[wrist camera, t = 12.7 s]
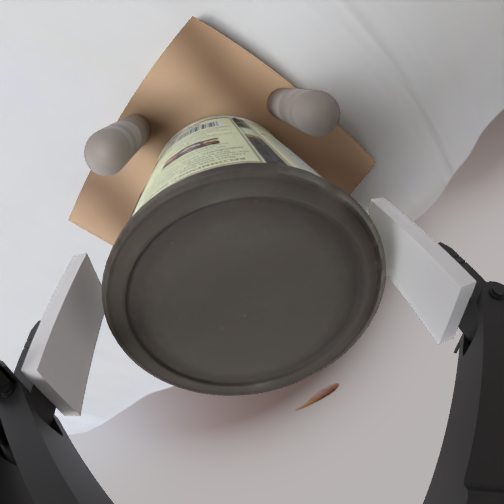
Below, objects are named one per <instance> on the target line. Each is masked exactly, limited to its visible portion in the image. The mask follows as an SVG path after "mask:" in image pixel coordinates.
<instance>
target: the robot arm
mask: <svg viewBox="0 0 504 504" xmlns="http://www.w3.org/2000/svg"><path fill="white" fill-rule="evenodd" d="M369 217H370V219H371V220H372V222H373V224H374V225H375V227H376V229H377V231H378V233H379V235H380V238H381V241H382V244H383V247H384V252H385V258H386V274H387V275H388V277H389V278H390V279H391V281H392V282H393V283H394V284H395V286H396V287H397V288H398V289H399V291H400V292H401V294H402V295H403V296H404V298H405V299H406V300H407V302H408V303H409V304H410V305H411V307H412V308H413V310H414V311H415V312H416V314H417V315H418V316H419V318H420V319H421V321H422V322H423V323H424V325H425V326H426V328H427V329H428V330H429V332H430V333H431V334H432V336H433V338H434V339H435V340H436V342H437V343H438V345H439V344H442V343H444V342H446V341H449V340H451V339H453V338H454V336H455V334H456V331H457V329H458V327H459V328H460V330H461V331H462V332H463V334H462V336H461V338H460V340H459V343H458V344H457V347H456V348H455V351H454V353H457V351H458V349H459V348H460V349H459V358H458V367H457V374H456V381H455V387H454V394H453V399H452V404H451V409H450V414H449V419H448V424H447V428H446V432H445V436H444V440H443V444H442V448H441V451H440V455H439V459H438V462H437V465H436V468H435V472H434V475H433V478H432V481H431V484H430V486H429V490H428V492H427V495H426V497H425V500H424V502H423V504H504V285H502V284H500V283H498V282H492V281H490V282H486V281H484V279H483V278H482V277H481V276H480V275H479V274H478V273H477V272H476V271H475V270H474V269H473V268H472V267H471V266H470V265H469V264H468V263H465V260H463V259H462V258H461V257H459V255H458V254H457V253H456V252H455V251H454V250H453V249H452V248H450V247H448V246H447V245H445V244H443V243H437V242H436V241H434V240H433V239H432V238H431V237H430V236H429V235H428V234H427V233H426V232H424V231H423V230H422V229H421V228H420V227H419V226H418V225H416V224H415V223H414V222H413V221H412V220H411V219H410V218H408V217H407V216H406V215H405V214H404V213H402V212H401V211H400V210H399V209H398V208H396V207H395V206H394V205H393V204H392V203H390V202H389V201H388V200H387V199H385V198H384V197H381V198H375V199H370V207H369ZM101 287H102V285H101V283H100V281H99V279H98V277H97V275H96V272H95V270H94V268H93V266H92V264H91V261H90V259H89V257H88V255H87V253H85V254H80V255H76V256H73V258H72V260H71V261H70V263H69V265H68V267H67V269H66V271H65V273H64V274H63V276H62V278H61V280H60V282H59V284H58V286H57V288H56V290H55V292H54V294H53V296H52V298H51V300H50V302H49V304H48V307H47V309H46V311H45V313H44V315H43V317H42V320H41V321H38V322H37V324H36V325H35V326H34V327H33V329H32V330H31V332H30V334H29V336H28V339H27V342H26V344H25V346H24V349H23V351H22V353H21V356H20V358H19V361H18V363H17V366H16V369H15V371H14V374H13V372H12V371H11V370H10V369H9V368H8V367H7V366H6V364H5V363H4V362H3V361H0V504H114V503H113V502H112V501H111V499H110V498H109V497H108V496H107V494H106V493H105V491H104V490H103V489H102V488H101V486H100V485H99V483H98V482H97V481H96V479H95V478H94V476H93V475H92V473H91V472H90V470H89V469H88V467H87V466H86V464H85V463H84V461H83V460H82V458H81V457H80V455H79V454H78V452H77V450H76V449H75V447H74V445H73V444H72V442H71V440H70V439H69V437H68V435H67V433H66V432H65V430H64V428H63V426H62V425H61V423H60V421H59V419H58V418H57V417H56V416H55V415H54V413H55V409H56V408H57V409H58V410H59V411H60V412H61V413H62V414H63V415H64V416H81V410H82V404H83V399H84V394H85V389H86V384H87V379H88V375H89V370H90V366H91V362H92V357H93V353H94V349H95V345H96V341H97V338H98V334H99V330H100V326H101V323H102V319H103V316H104V310H103V304H102V289H101Z"/></svg>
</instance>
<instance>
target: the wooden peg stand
mask: <svg viewBox="0 0 504 504" xmlns="http://www.w3.org/2000/svg"><path fill="white" fill-rule="evenodd" d="M221 115H227V116H237V117H241V118H245V119H248V120H250V121H253V122H255V123H257V124H259V125H260V126H262V127H263V128H265V129H267V130H268V131H269V132H270V133H271V134H272V135H273V136H274V137H275V138H276V139H277V140H278V141H279V142H281V143H282V144H283V145H284V146H286V147H287V148H288V149H290V150H291V151H292V152H293V153H294V154H296V155H297V156H298V157H299V158H300V159H302V160H303V161H304V162H305V163H306V164H307V165H309V166H310V167H311V168H312V169H313V170H314V171H316V172H317V173H318V174H319V175H320V176H321V177H322V178H324V179H326V180H328V181H330V182H331V183H333V184H335V185H336V186H338V187H339V188H341V189H342V190H343V191H344V192H346V193H347V194H348V195H350V193H351V192H352V191H353V190H354V189H355V187H356V186H357V185H358V184H359V183H360V182H361V180H362V179H363V178H364V177H365V176H366V174H367V173H368V172H369V171H370V170H371V168H372V167H373V166H374V165H375V164H376V161H375V160H374V159H373V158H372V157H371V156H370V155H369V154H368V153H367V152H366V151H365V150H364V149H363V148H362V147H361V146H360V145H359V144H358V143H357V142H356V141H355V140H354V139H353V138H352V137H351V136H350V135H349V134H348V133H347V132H346V131H345V130H344V129H342V128H341V127H340V126H339V125H338V122H339V119H340V109H339V106H338V103H337V102H336V100H335V99H334V98H333V97H332V96H331V95H330V94H328V93H326V92H323V91H316V90H306V89H297V88H296V87H294V86H293V85H292V84H291V83H289V82H288V81H287V80H286V79H284V78H283V77H282V76H280V75H279V74H278V73H277V72H275V71H274V70H273V69H271V68H270V67H269V66H267V65H266V64H265V63H263V62H262V61H261V60H259V59H258V58H256V57H255V56H254V55H252V54H251V53H249V52H248V51H246V50H245V49H244V48H242V47H241V46H239V45H238V44H236V43H235V42H233V41H232V40H230V39H229V38H227V37H226V36H224V35H223V34H221V33H220V32H218V31H216V30H215V29H213V28H212V27H210V26H208V25H207V24H205V23H203V22H202V21H200V20H198V19H197V18H195V17H193V16H192V18H191V19H190V20H189V21H188V22H187V23H186V25H185V26H184V27H183V28H182V29H181V31H180V32H179V33H178V34H177V36H176V37H175V38H174V39H173V41H172V42H171V43H170V44H169V46H168V47H167V48H166V50H165V51H164V52H163V54H162V55H161V56H160V58H159V59H158V60H157V62H156V63H155V64H154V66H153V67H152V69H151V70H150V71H149V73H148V74H147V76H146V77H145V79H144V80H143V82H142V83H141V85H140V86H139V88H138V89H137V91H136V92H135V94H134V95H133V97H132V98H131V100H130V101H129V103H128V105H127V106H126V108H125V109H124V111H123V113H122V114H121V116H120V118H119V119H118V121H117V122H115V123H113V124H111V125H109V126H107V127H105V128H103V129H101V130H99V131H97V132H96V133H94V134H93V135H92V136H91V137H90V138H89V139H88V141H87V143H86V145H85V149H84V157H85V161H86V163H87V165H88V167H89V168H90V169H91V171H90V173H89V175H88V177H87V179H86V181H85V183H84V185H83V188H82V190H81V192H80V194H79V196H78V199H77V201H76V203H75V205H74V208H73V210H72V212H71V215H70V217H69V221H71V222H72V223H74V224H76V225H78V226H79V227H81V228H83V229H85V230H86V231H88V232H90V233H92V234H93V235H95V236H97V237H99V238H100V239H102V240H104V241H106V242H108V243H109V244H111V245H114V243H115V241H116V240H117V238H118V236H119V234H120V232H121V231H122V229H123V228H124V227H125V225H126V224H127V222H128V221H129V219H130V217H131V215H132V212H133V210H134V208H135V206H136V203H137V201H138V199H139V196H140V194H141V193H142V191H143V190H144V188H145V185H146V183H147V182H148V180H149V178H150V176H151V174H152V172H153V170H154V168H155V166H156V164H157V161H158V158H159V156H160V154H161V152H162V150H163V149H164V147H165V145H166V144H167V143H168V142H169V141H170V139H171V138H172V137H173V136H174V135H175V134H177V133H178V132H179V131H180V130H182V129H183V128H185V127H186V126H188V125H190V124H191V123H193V122H196V121H198V120H201V119H204V118H208V117H212V116H221Z"/></svg>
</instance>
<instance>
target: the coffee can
mask: <svg viewBox="0 0 504 504" xmlns="http://www.w3.org/2000/svg"><path fill="white" fill-rule="evenodd" d="M385 280H386V258H385V252H384V247H383V244H382V241H381V238H380V235H379V233H378V231H377V229H376V227H375V225H374V224H373V222H372V220H371V219H370V217H369V216H368V214H367V213H366V212H365V210H364V209H363V208H362V207H361V206H360V205H359V204H358V203H357V202H356V201H355V200H354V199H353V198H352V197H351V196H350V195H348V194H347V193H346V192H344V191H343V190H342V189H341V188H339V187H338V186H336V185H335V184H333V183H331V182H330V181H328V180H326V179H324V178H322V177H321V176H320V175H319V174H318V173H317V172H316V171H314V170H313V169H312V168H311V167H310V166H309V165H307V164H306V163H305V162H304V161H303V160H302V159H300V158H299V157H298V156H297V155H296V154H294V153H293V152H292V151H291V150H290V149H288V148H287V147H286V146H284V145H283V144H282V143H281V142H279V141H278V140H277V139H276V138H275V137H274V136H273V135H272V134H271V133H270V132H269V131H268V130H267V129H265V128H263V127H262V126H260V125H259V124H257V123H255V122H253V121H250V120H248V119H245V118H241V117H237V116H227V115H221V116H212V117H208V118H204V119H201V120H198V121H196V122H193V123H191V124H190V125H188V126H186V127H185V128H183V129H182V130H180V131H179V132H178V133H177V134H175V135H174V136H173V137H172V138H171V139H170V141H169V142H168V143H167V144H166V145H165V147H164V149H163V150H162V152H161V154H160V156H159V158H158V161H157V164H156V166H155V168H154V170H153V172H152V174H151V176H150V178H149V180H148V182H147V183H146V185H145V188H144V190H143V191H142V193H141V194H140V196H139V199H138V201H137V203H136V206H135V208H134V210H133V212H132V215H131V217H130V219H129V221H128V222H127V224H126V225H125V227H124V228H123V229H122V231H121V232H120V234H119V236H118V238H117V240H116V241H115V243H114V245H113V247H112V250H111V252H110V255H109V257H108V260H107V262H106V266H105V270H104V274H103V280H102V287H101V289H102V304H103V310H104V314H105V317H106V320H107V323H108V326H109V328H110V330H111V332H112V334H113V336H114V337H115V339H116V341H117V342H118V344H119V345H120V346H121V348H122V349H123V351H124V352H125V353H126V354H127V355H128V356H129V357H130V358H131V359H132V360H133V361H134V362H135V363H136V364H137V365H138V366H140V367H141V368H142V369H143V370H145V371H147V372H148V373H150V374H151V375H153V376H154V377H156V378H158V379H160V380H162V381H164V382H166V383H169V384H171V385H174V386H176V387H179V388H182V389H186V390H189V391H193V392H198V393H203V394H210V395H224V396H233V395H250V394H258V393H263V392H268V391H272V390H276V389H280V388H283V387H286V386H290V385H292V384H295V383H297V382H300V381H302V380H304V379H306V378H308V377H310V376H312V375H314V374H316V373H318V372H320V371H321V370H323V369H324V368H326V367H327V366H329V365H330V364H332V363H333V362H335V361H336V360H337V359H338V358H340V357H341V356H342V355H343V354H345V353H346V352H347V351H348V350H349V349H350V348H351V347H352V346H353V345H354V344H355V343H356V342H357V340H358V339H359V338H360V337H361V336H362V334H363V333H364V332H365V330H366V329H367V327H368V326H369V324H370V323H371V321H372V319H373V317H374V315H375V314H376V312H377V309H378V307H379V304H380V301H381V298H382V295H383V291H384V286H385Z"/></svg>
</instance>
